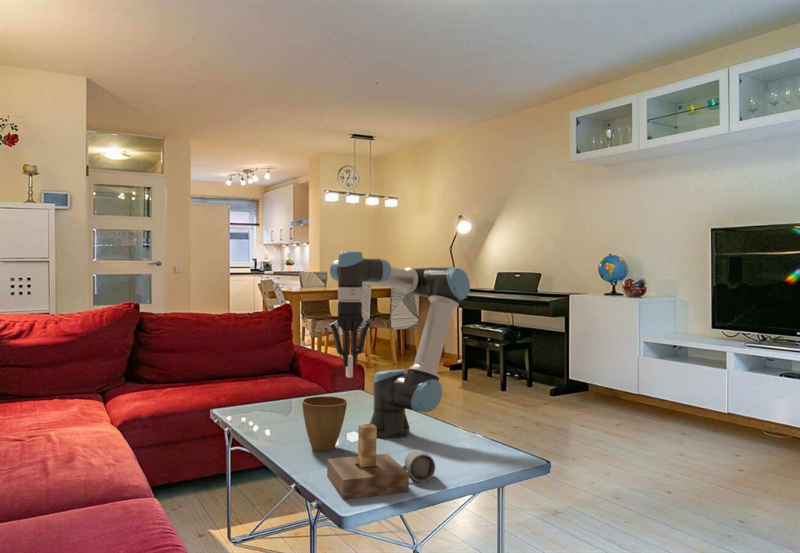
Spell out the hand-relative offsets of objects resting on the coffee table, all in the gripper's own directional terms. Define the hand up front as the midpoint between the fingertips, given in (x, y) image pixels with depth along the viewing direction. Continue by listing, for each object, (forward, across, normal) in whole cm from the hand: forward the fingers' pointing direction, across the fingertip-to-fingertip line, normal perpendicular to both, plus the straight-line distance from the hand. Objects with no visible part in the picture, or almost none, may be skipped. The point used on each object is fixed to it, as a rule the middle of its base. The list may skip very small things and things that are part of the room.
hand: (349, 376), depth 179 cm
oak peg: (+25, -1, -22) cm, 33 cm away
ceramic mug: (+26, +14, -21) cm, 36 cm away
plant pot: (+26, -4, +14) cm, 30 cm away
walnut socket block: (+26, -1, -22) cm, 34 cm away
